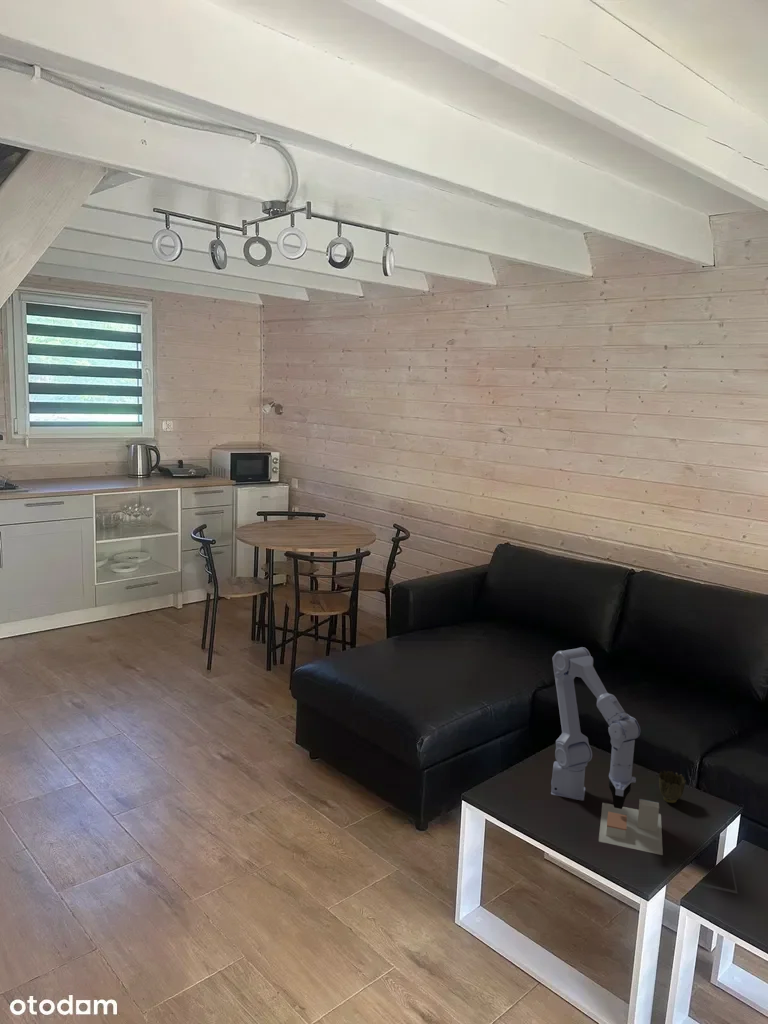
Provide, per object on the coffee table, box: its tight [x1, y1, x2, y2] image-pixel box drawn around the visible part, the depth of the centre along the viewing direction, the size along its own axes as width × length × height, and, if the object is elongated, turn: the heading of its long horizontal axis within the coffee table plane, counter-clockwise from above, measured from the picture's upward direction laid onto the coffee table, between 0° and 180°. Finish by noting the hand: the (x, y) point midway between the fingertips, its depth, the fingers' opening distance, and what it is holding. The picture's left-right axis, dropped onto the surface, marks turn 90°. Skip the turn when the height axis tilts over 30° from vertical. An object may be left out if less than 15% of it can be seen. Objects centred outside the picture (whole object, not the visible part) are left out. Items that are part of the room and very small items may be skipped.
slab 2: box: [638, 798, 660, 832], centre depth 199 cm, size 5×3×7 cm, turn 71°
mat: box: [598, 802, 664, 856], centre depth 199 cm, size 16×20×1 cm
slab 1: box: [606, 812, 627, 840], centre depth 197 cm, size 5×3×7 cm
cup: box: [658, 770, 687, 804], centre depth 213 cm, size 8×7×8 cm
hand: (618, 807), depth 199 cm, fingers closed
